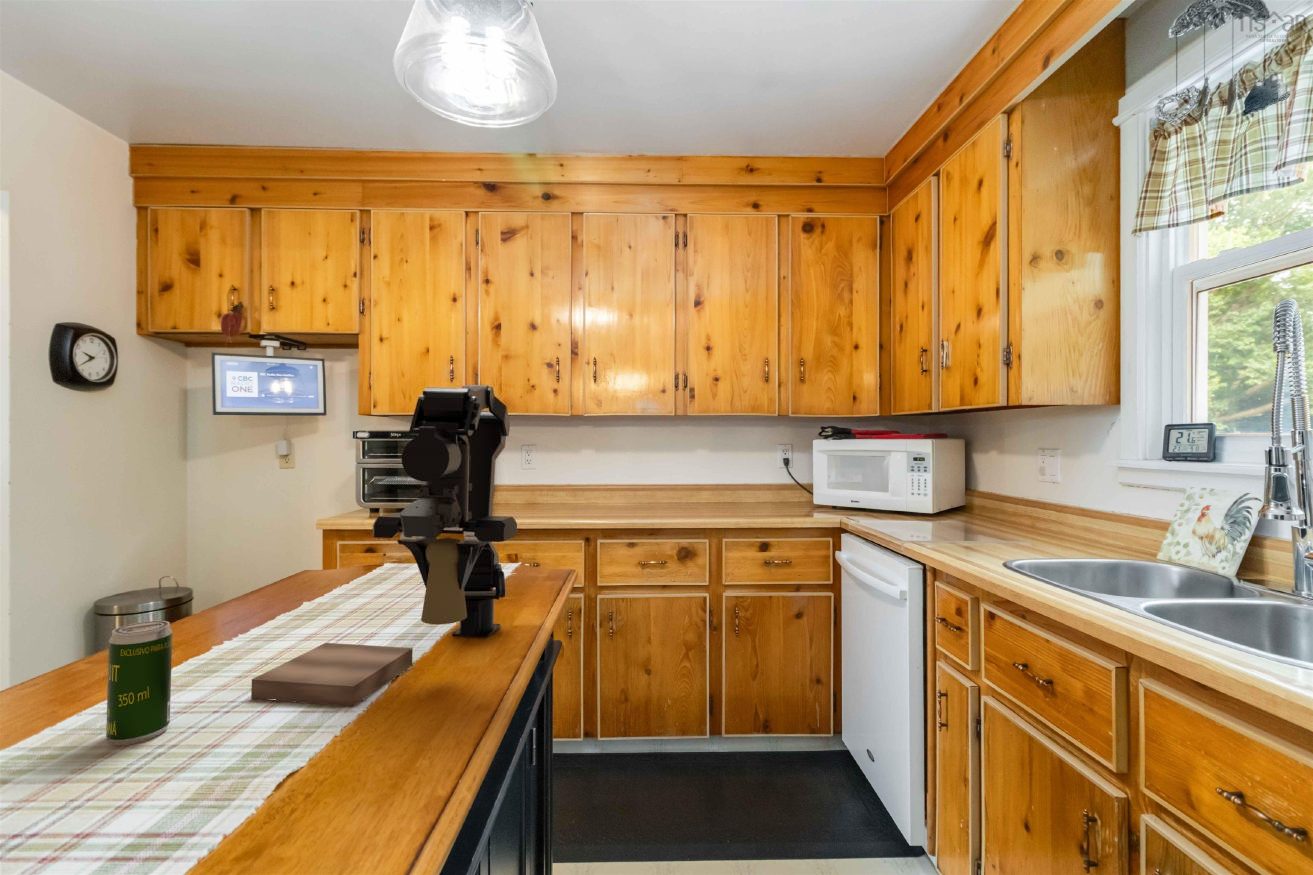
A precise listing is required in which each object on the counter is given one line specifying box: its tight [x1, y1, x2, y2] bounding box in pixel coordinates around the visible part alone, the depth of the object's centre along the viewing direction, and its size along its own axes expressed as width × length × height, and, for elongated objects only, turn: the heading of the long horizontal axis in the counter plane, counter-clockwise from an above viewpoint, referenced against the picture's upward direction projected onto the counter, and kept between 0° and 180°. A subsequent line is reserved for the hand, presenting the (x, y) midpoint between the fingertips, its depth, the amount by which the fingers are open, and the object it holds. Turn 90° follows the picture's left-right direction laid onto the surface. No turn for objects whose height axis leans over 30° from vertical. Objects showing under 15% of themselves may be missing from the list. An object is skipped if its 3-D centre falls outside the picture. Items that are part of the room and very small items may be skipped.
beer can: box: [105, 620, 173, 746], centre depth 65 cm, size 5×5×12 cm
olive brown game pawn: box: [420, 537, 467, 625], centre depth 81 cm, size 6×6×11 cm
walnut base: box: [250, 642, 414, 707], centre depth 81 cm, size 14×14×2 cm
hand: (444, 588), depth 81 cm, fingers closed on olive brown game pawn, 4 cm apart
